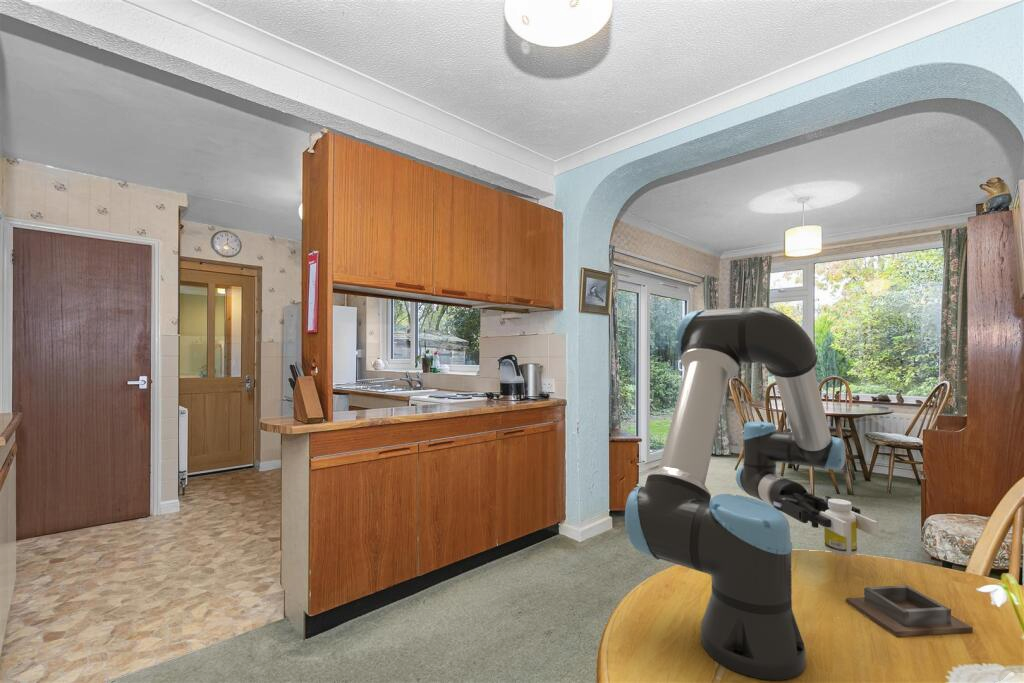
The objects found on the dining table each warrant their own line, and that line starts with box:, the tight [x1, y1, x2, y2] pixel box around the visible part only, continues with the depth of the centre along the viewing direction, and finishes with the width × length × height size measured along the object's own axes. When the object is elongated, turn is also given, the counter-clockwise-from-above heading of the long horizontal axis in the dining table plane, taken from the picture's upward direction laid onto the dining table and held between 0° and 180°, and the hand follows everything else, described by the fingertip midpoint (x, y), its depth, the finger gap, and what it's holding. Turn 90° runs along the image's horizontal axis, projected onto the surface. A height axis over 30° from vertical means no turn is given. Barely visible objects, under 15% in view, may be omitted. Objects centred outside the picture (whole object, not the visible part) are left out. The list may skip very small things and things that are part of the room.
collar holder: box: [845, 584, 974, 638], centre depth 88 cm, size 14×11×3 cm
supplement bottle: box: [823, 498, 858, 556], centre depth 98 cm, size 5×5×10 cm
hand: (860, 529), depth 93 cm, fingers closed on supplement bottle, 5 cm apart
